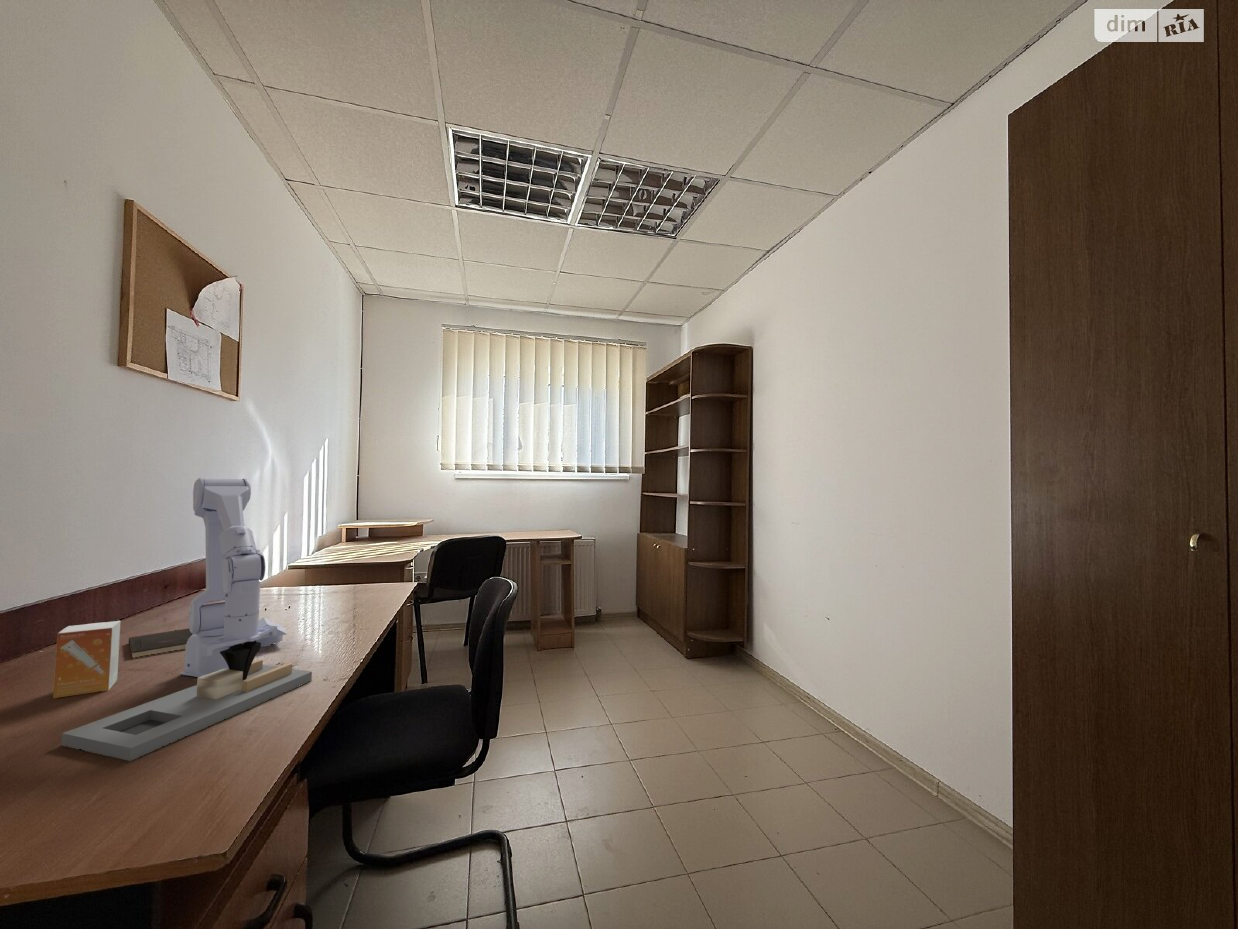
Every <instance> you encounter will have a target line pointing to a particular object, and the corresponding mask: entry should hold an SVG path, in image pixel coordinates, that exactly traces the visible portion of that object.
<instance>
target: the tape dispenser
mask: <svg viewBox="0 0 1238 929" xmlns="http://www.w3.org/2000/svg"><path fill="white" fill-rule="evenodd" d="M270 625H272V626H277V635H275V636H268V637H265V638H262V639H259V640H256V642H260V643H261V648H263V646H264V647H269V646H272V645H271V644H273V645H275V644H274V643H277V644H279V643H281V642H282V641H283V639H284V636H285V635H288V632H287V631H286V629H285V628H284V626H283V625H281V624H278V623H276V622H274V621H273V620H270V619H268V618H266V617H264V616H263V617H262V618H260V619H259V626H258V628H261V627H266V626H270ZM280 641H281V642H280ZM278 642H279V643H278ZM268 645H269V646H268Z"/></svg>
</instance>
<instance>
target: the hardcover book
mask: <svg viewBox="0 0 1238 929" xmlns="http://www.w3.org/2000/svg"><path fill="white" fill-rule="evenodd" d="M192 635H193V633H191V632H190V629H189V628H181V629H176V630H169V631H163V632H155V633H151V634H150V633H149V634H143V635H138V636H130V637H128V644H129V643H130V644H129V647H130V653H131V657H138V656H143V655H148V654H155V653H159V652H165V651H171V650H178V651H181V650H180V649H183V650H186V643H187V641H188V639H189V638H190V637H191V636H192ZM155 655H156V654H155ZM143 657H144V656H143ZM138 658H139V657H138Z"/></svg>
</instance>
